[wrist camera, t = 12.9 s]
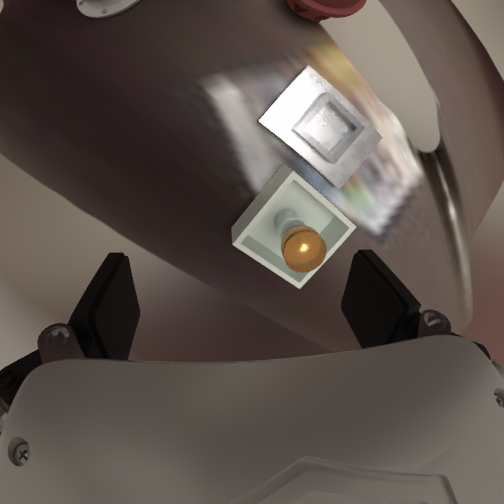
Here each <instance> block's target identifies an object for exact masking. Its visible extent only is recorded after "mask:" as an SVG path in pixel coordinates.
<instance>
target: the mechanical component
mask: <svg viewBox="0 0 504 504" xmlns="http://www.w3.org/2000/svg"><path fill="white" fill-rule="evenodd" d="M286 1H287V3H288V5H289V6H290V8H291V9H292V10H293V11H294V12H295V13H297V14H298V15H300V16H302V17H304V18H307V19H310V20H311V21H313V22H315V23H318V22H320V21H321V20H325V19H328V18H330V17H335V18H338V17H339V18H340V17H346V16H350V15H352V14H354V13H355V12H357V11H358V10H360V9H361V8H362V7H363V6H364V5H365V3H366V0H286Z"/></svg>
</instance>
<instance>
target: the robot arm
mask: <svg viewBox="0 0 504 504" xmlns="http://www.w3.org/2000/svg"><path fill="white" fill-rule="evenodd" d="M139 1H141V0H76V2H77V7H78V9H79V11H80V12H81V13H82V14H84V15H85V16H88V17H90V18H96V19H98V18H107V17H111V16H114V15H117V14H120V13H122V12H124V11H126V10H128V9H129V8H131V7H133V6H134V5H135V4H137V3H138V2H139ZM420 307H421V304H420V303H419V302H418V301H417V299H416V298H415V297H414V296H413V295H412V293H411V292H410V291H409V290H408V289H407V288H406V287H405V285H404V284H403V283H402V282H401V281H400V280H399V279H398V277H397V276H396V275H395V274H394V273H393V272H392V271H391V270H390V269H389V268H388V266H387V265H386V264H385V263H384V262H383V261H382V260H381V259H380V258H379V257H378V256H377V255H376V254H375V252H374V251H373V250H359V251H358V252H357V253H355V254H354V256H353V260H352V264H351V268H350V272H349V276H348V280H347V284H346V288H345V291H344V295H343V298H342V302H341V309H342V312H343V314H344V315H345V317H346V319H347V321H348V323H349V325H350V327H351V328H352V330H353V332H354V334H355V336H356V338H357V340H358V342H359V344H360V346H361V347H362V349H357V350H351V351H345V352H338V353H331V354H322V355H314V356H306V357H296V358H287V359H286V358H285V359H273V360H259V361H240V362H206V363H204V362H200V363H189V362H188V363H186V362H183V363H182V362H151V361H134V360H133V361H132V360H128V357H129V353H130V349H131V345H132V342H133V338H134V335H135V331H136V328H137V324H138V321H139V317H140V308H139V304H138V300H137V295H136V291H135V287H134V282H133V277H132V273H131V268H130V262H129V258H128V256H124V253H109V254H108V255H107V257H106V259H105V260H104V262H103V263H102V265H101V266H100V268H99V269H98V271H97V273H96V274H95V276H94V277H93V279H92V281H91V282H90V284H89V286H88V287H87V289H86V291H85V292H84V294H83V296H82V297H81V299H80V301H79V303H78V304H77V306H76V308H75V310H74V312H73V313H72V315H71V317H70V320H69V322H68V324H63V323H57V324H53V325H50V326H48V327H47V328H45V329H44V330H43V331H42V332H41V334H40V335H39V337H38V341H37V342H38V350H36V351H34V352H32V353H30V354H28V355H26V356H25V357H23V358H21V359H19V360H17V361H15V362H14V363H12V364H10V365H8V366H6V367H5V368H3V369H2V370H1V371H0V504H504V367H502V366H501V365H500V364H498V363H497V362H496V361H494V360H493V361H492V362H491V361H490V360H491V359H490V355H489V353H488V351H487V349H486V348H485V347H484V346H483V345H481V344H478V343H476V342H474V341H471V340H469V339H467V338H464V337H462V336H460V335H457V334H455V333H452V332H451V323H450V321H449V320H448V318H447V317H446V316H445V315H443V314H442V313H440V312H438V311H436V310H424V311H423V312H422V313H420V312H419V309H420Z"/></svg>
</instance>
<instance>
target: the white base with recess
mask: <svg viewBox="0 0 504 504" xmlns="http://www.w3.org/2000/svg"><path fill="white" fill-rule="evenodd" d="M257 122H259V123H260V124H261V125H263V126H264V127H265V128H266V129H268V130H269V131H270V132H272V133H273V134H274V135H275V136H277V137H278V138H279V139H280V140H282V141H283V142H284V143H285V144H286V145H288V146H289V147H290V148H291V149H293V150H294V151H295V152H296V153H297V154H298V155H300V156H301V157H302V158H303V159H304V160H306V161H307V162H308V163H309V164H310V165H311V166H312V167H314V168H315V169H316V170H317V171H318V172H319V173H320V174H321V175H323V176H324V177H325V178H326V179H327V180H328V181H329V182H330V183H331V184H332V185H333V186H335V187H336V188H338V189H340V188H341V187H342V186H343V184H344V183H345V182H346V181H347V180H348V179H349V177H350V176H351V175H352V174H353V173H354V171H355V170H356V169H357V168H358V167H359V165H360V164H361V163H362V162H363V161H364V159H365V158H366V157H367V156H368V155H369V153H370V152H371V151H372V150H373V149H374V147H375V146H376V145H377V144H378V143H379V141H380V140H381V139H382V137H381V135H380V134H379V133H378V132H377V131H376V130H375V129H374V128H373V126H372V125H371V124H370V123H369V122H368V121H367V120H366V119H365V118H364V117H363V116H362V115H361V114H360V113H359V111H358V110H357V109H356V108H355V107H354V106H353V105H352V104H351V103H350V102H349V101H348V100H347V99H346V98H345V97H343V96H342V95H341V94H340V93H339V92H338V91H337V90H336V89H335V88H334V87H333V86H332V85H331V84H330V83H328V82H327V81H326V80H325V79H324V78H323V77H322V76H321V75H319V74H318V73H317V72H316V71H315V70H314V69H312V68H311V67H310V66H307V67H305V68H304V69H303V70H302V71H301V72H300V73H299V74H298V75H297V77H296V78H295V79H294V80H293V81H292V82H291V83H290V84H289V85H288V86H287V87H286V89H285V90H284V91H283V92H282V93H281V94H280V95H279V96H278V98H277V99H276V100H275V101H274V102H273V103H272V104H271V106H270V107H269V108H268V109H267V110H266V111H265V113H264V114H263V115H262V116H261V117H260V118H259V120H258V121H257Z"/></svg>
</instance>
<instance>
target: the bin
mask: <svg viewBox="0 0 504 504" xmlns="http://www.w3.org/2000/svg"><path fill="white" fill-rule="evenodd" d="M284 209H292V210H294V211H295V212H296V213H297V214H298V215H299V217H300V218H301V219H302V221H303V222H304V223H305V225H306V226H309V227H312V228H313V229H315V230H316V231H317V232H318V233H319V235H320V236H321V237H322V239H323V240H324V241H325V244H326V247H327V253H326V257H325V259H324V261H323V262H322V264H321V265H320V266H319V267H317V268H316V269H314V270H312V271H310V272H305V273H300V272H296V271H293V270H292V269H290V268H289V267H288V266H287V264H286V262H285V260H284V258H283V255H282V253H281V241H282V240H281V238H280V236H279V234H278V231H277V229H276V227H275V224H274V219H275V216H276V215H277V214H278V212H280V211H281V210H284ZM355 228H356V226H355V225H354V224H353V223H351V222H350V221H349V220H348V219H347V218H346V217H345V216H344V215H343V214H342V213H341V212H340V211H339V210H338V209H336V208H335V207H334V206H333V205H332V204H331V203H330V202H329V201H328V200H326V199H325V198H324V197H323V196H322V195H321V194H320V193H319V192H317V191H316V190H315V189H314V188H313V187H312V186H310V185H309V184H308V183H307V182H306V181H305V180H303V179H302V178H301V177H300V176H299V175H298V174H296V173H295V172H294V171H293V170H291V169H290V168H289V167H287V166H286V165H284V164H283V165H282V166H281V167H280V168H279V170H278V171H277V172H276V173H275V174H274V176H273V177H272V178H271V179H270V181H269V182H268V183H267V184H266V185H265V187H264V188H263V189H262V190H261V192H260V193H259V194H258V195H257V196H256V198H255V199H254V200H253V201H252V203H251V204H250V205H249V206H248V208H247V209H246V210H245V211H244V213H243V214H242V215H241V216H240V218H239V219H238V220H237V221H236V223H235V224H234V225H233V226H232V228H231V229H232V245H234V246H235V247H237V248H238V249H240V250H241V251H243V252H244V253H246V254H247V255H249V256H250V257H252V258H254V259H255V260H257V261H258V262H260V263H261V264H263V265H264V266H266V267H267V268H269V269H270V270H272V271H273V272H275V273H276V274H278V275H279V276H281V277H282V278H284V279H285V280H287V281H288V282H290V283H292V284H293V285H295V286H296V287H298V288H299V289H300V288H301V287H302V286H303V285H304V284H305V283H306V282H307V281H308V280H309V278H310V277H311V276H312V275H313V274H314V273H315V272H316V271H317V270H318V269H319V268H320V267H321V266H322V265H323V264H324V262H325V261H326V260H327V259H328V258H329V257H330V256H331V255H332V254H333V253H334V252H335V251H336V249H337V248H338V247H339V246H340V245H341V244H342V243H343V242H344V241H345V239H346V238H347V237H348V236H349V235H350V234H351V233H352V232H353V230H354V229H355Z"/></svg>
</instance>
